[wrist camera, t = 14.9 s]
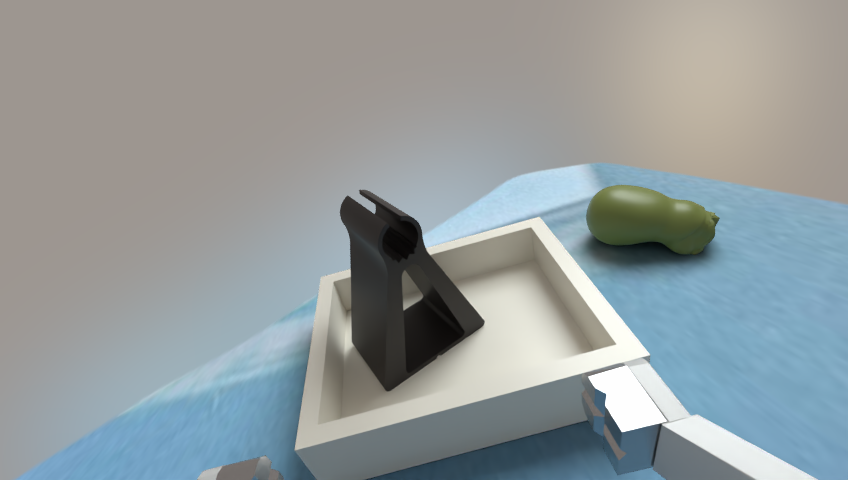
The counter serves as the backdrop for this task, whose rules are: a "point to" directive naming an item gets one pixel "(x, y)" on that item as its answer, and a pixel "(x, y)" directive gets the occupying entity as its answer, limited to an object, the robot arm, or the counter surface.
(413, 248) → the phone stand
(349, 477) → the tray
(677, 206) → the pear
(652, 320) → the counter surface
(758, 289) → the counter surface
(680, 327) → the counter surface
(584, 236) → the counter surface
